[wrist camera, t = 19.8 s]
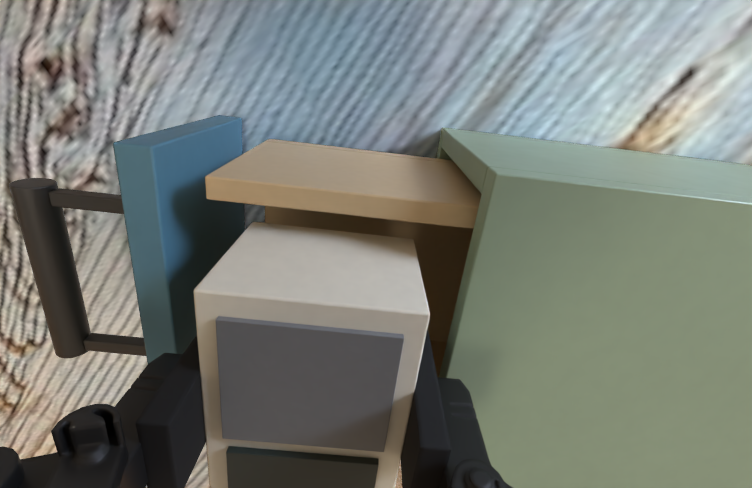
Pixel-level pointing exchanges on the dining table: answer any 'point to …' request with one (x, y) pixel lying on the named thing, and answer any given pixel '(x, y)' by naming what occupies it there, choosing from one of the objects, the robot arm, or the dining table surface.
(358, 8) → the dining table surface
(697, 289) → the cabinet
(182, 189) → the drawer
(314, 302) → the cream box
